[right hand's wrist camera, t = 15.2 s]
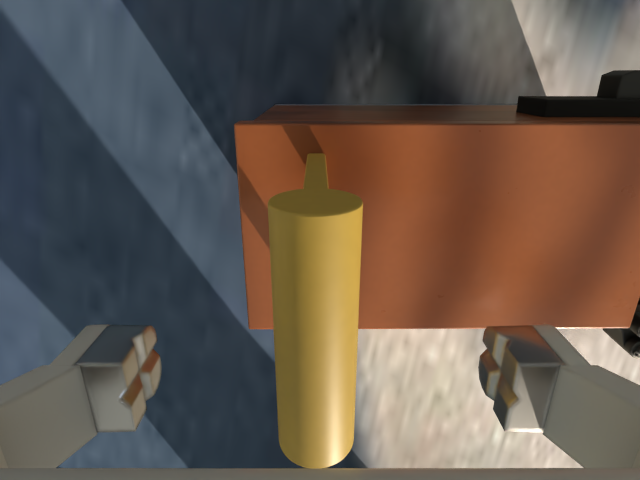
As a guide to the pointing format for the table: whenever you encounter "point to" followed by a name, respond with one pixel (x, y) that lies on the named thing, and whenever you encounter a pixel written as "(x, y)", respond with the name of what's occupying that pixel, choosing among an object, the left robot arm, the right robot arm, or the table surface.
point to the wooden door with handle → (425, 242)
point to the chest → (411, 113)
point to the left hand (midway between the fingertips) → (512, 209)
